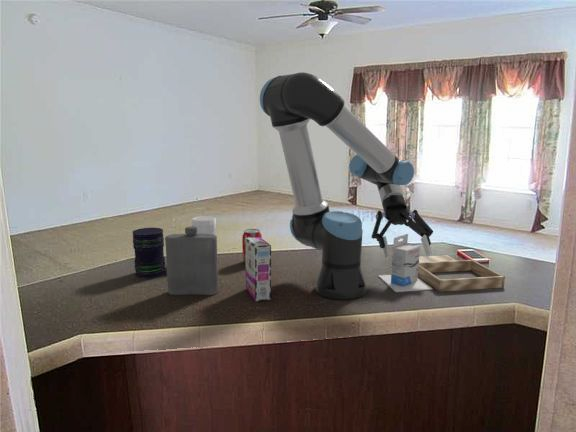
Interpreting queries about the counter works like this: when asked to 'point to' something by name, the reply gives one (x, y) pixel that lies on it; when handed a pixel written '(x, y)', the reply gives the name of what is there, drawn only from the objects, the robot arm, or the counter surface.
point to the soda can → (248, 234)
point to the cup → (204, 224)
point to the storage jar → (149, 253)
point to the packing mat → (413, 286)
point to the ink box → (404, 261)
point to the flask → (192, 263)
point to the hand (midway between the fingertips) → (408, 255)
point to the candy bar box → (258, 268)
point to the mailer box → (449, 264)
